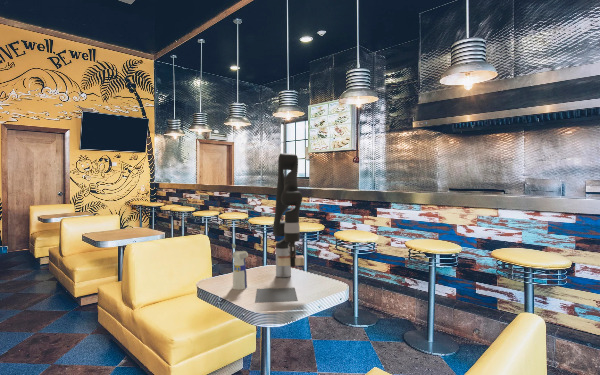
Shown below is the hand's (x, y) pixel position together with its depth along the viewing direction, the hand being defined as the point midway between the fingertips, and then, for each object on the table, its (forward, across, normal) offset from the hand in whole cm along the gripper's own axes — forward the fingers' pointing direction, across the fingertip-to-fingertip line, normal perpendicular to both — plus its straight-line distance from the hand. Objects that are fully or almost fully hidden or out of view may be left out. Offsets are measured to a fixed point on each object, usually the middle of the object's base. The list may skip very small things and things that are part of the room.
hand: (292, 265), depth 164 cm
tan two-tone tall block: (-2, 0, +7) cm, 8 cm away
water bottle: (+15, +15, +27) cm, 35 cm away
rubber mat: (+15, +1, +8) cm, 17 cm away
